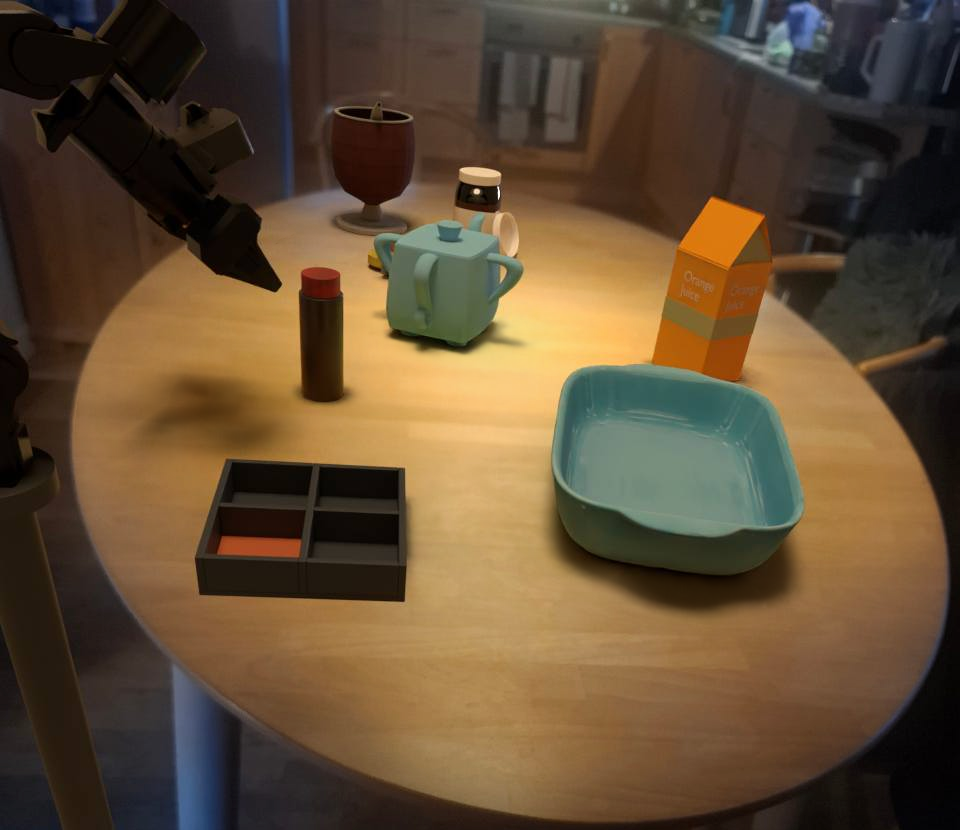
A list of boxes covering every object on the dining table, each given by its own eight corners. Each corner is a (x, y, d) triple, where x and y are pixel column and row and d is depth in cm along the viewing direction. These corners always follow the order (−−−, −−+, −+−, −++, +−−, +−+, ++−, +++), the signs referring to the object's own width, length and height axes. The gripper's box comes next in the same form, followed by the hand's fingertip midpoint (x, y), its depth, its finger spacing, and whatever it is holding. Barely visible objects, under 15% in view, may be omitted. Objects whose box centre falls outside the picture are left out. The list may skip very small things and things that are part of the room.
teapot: (522, 351, 115) (536, 242, 107) (400, 356, 110) (405, 241, 101) (475, 304, 128) (484, 203, 120) (364, 306, 123) (365, 200, 114)
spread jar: (453, 237, 155) (458, 162, 147) (517, 244, 155) (526, 170, 148) (448, 256, 145) (454, 178, 138) (517, 264, 146) (526, 186, 138)
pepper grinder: (299, 400, 97) (296, 278, 89) (303, 383, 101) (299, 264, 93) (342, 403, 98) (342, 281, 90) (344, 386, 101) (344, 267, 93)
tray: (199, 595, 68) (194, 557, 66) (229, 493, 81) (225, 458, 78) (404, 602, 70) (406, 565, 68) (403, 501, 82) (405, 467, 80)
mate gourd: (329, 212, 159) (328, 82, 147) (406, 217, 162) (411, 90, 150) (334, 237, 148) (333, 98, 135) (417, 241, 150) (424, 105, 138)
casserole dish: (558, 406, 103) (567, 345, 98) (751, 434, 102) (769, 374, 97) (529, 583, 74) (541, 509, 69) (798, 625, 73) (827, 552, 68)
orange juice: (697, 388, 111) (742, 216, 99) (650, 362, 116) (687, 196, 104) (740, 379, 115) (788, 213, 102) (692, 354, 120) (733, 194, 108)
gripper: (230, 93, 69) (355, 235, 81) (153, 55, 81) (273, 185, 93) (141, 206, 70) (278, 330, 82) (77, 153, 82) (206, 269, 94)
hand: (259, 273), depth 88 cm, fingers open, 9 cm apart
